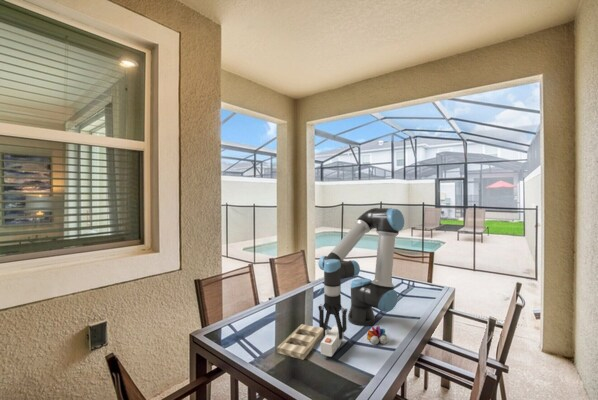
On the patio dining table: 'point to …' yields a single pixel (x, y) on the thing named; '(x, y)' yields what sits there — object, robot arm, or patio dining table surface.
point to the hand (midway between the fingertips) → (332, 344)
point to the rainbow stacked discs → (377, 336)
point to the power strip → (330, 342)
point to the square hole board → (300, 341)
